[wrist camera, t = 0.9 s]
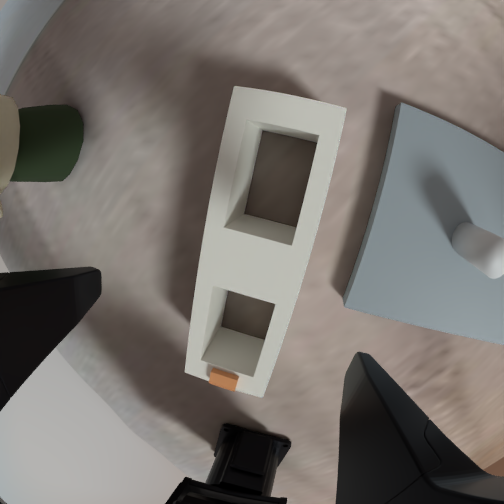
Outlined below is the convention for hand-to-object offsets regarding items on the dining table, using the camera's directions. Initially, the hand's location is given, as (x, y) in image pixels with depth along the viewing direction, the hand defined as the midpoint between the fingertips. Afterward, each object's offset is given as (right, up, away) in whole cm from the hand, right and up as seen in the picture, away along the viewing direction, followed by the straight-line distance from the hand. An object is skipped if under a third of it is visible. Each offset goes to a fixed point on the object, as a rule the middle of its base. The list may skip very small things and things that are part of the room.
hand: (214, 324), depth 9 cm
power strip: (+2, +3, +9) cm, 9 cm away
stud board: (+18, +2, +5) cm, 18 cm away
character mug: (-14, +11, +10) cm, 20 cm away
